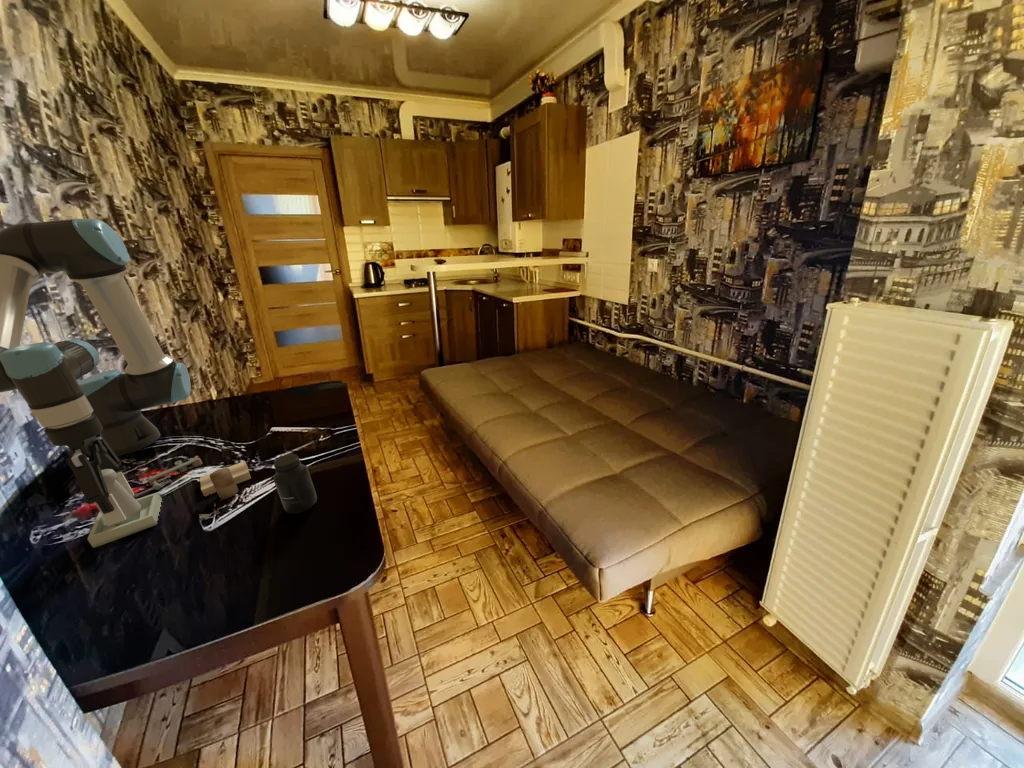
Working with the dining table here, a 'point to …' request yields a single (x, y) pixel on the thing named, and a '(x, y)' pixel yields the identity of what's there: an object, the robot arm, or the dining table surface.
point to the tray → (147, 519)
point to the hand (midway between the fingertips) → (122, 509)
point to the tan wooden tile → (238, 473)
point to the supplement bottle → (294, 484)
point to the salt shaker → (121, 497)
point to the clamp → (179, 465)
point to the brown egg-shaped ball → (224, 483)
